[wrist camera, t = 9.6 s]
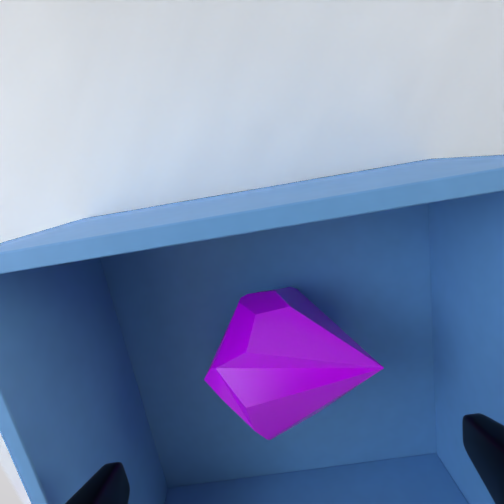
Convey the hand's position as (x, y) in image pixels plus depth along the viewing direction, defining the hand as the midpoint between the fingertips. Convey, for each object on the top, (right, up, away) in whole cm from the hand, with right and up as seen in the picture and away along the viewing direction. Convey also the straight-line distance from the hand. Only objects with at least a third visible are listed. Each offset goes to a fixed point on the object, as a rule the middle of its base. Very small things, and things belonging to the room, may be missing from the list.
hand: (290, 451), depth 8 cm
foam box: (0, +1, +7) cm, 7 cm away
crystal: (0, +1, +7) cm, 7 cm away
